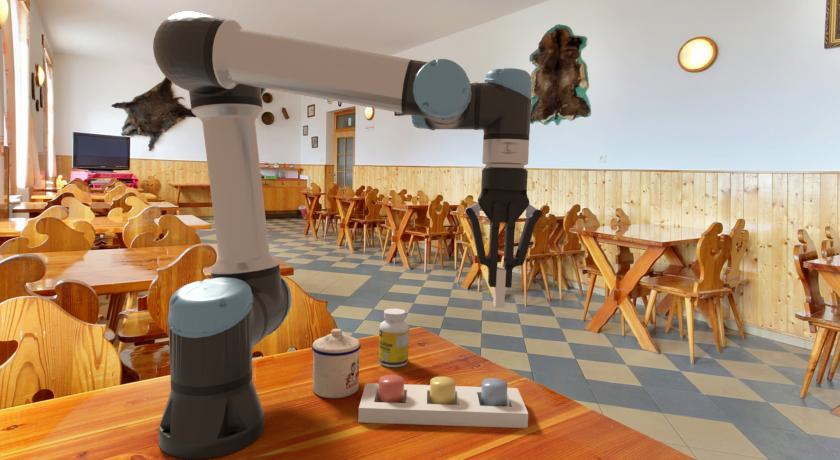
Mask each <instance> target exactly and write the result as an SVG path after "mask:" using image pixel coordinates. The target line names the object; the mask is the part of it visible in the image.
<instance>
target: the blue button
mask: <svg viewBox="0 0 840 460" xmlns="http://www.w3.org/2000/svg"><path fill="white" fill-rule="evenodd" d="M508 385H509V384H508V383H507V381H505V380H504V379H501V378H496V377H490V378H484V379H483V380H482V381H481V387H482V393H481V403H482V405H484V406H502V407H506V405H507V388H508Z"/></svg>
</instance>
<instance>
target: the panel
mask: <svg viewBox="0 0 840 460" xmlns="http://www.w3.org/2000/svg"><path fill="white" fill-rule="evenodd" d="M481 393H482V386H469V385H468V386H464V385H459V386H458V385H456V386H455V403H454V405H444V404H431V403H430V384H405V383H404V400H403V402H402V403H385V402H379V400H378V394H379V382H378V383H377V382H375V383H374V382H365V385H364V389H363V392H362V396H361V398H360V402H359V406H358V417H357V418H358V421H357V423H370V424H392V425H394V424H397V425H399V424H400V425H401V424H402V425H425V426H427V425H428V426H431V425H432V426H452V427H455V426H456V427H457V426H458V427H484V428H485V427H486V428H508V429H509V428H514V429H517V428H518V429H528V428H529V427H528V426H529V412H528V410H527V407H526V404H525V403H524V400H523V398H522V396H521V393H520V390H519V389H518V387H507V405H506V406H505V407H502V406H484V405H482V403H481Z"/></svg>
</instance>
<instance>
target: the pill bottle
mask: <svg viewBox="0 0 840 460" xmlns="http://www.w3.org/2000/svg"><path fill="white" fill-rule="evenodd" d="M383 318H384V320H383V321H382V322H381V323H380V324H379V331H378V333H379V336H378V363H379V364H380V365H381V366H384V367H387V368H400V367H404V366H405V365H407V364H408V361H409V343H410V341H409V340H410V339H409V338H410V326H409V324H408V322H407V321H406V320H405V319H406V310H405V309H401V308H387V309H384V311H383Z"/></svg>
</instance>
